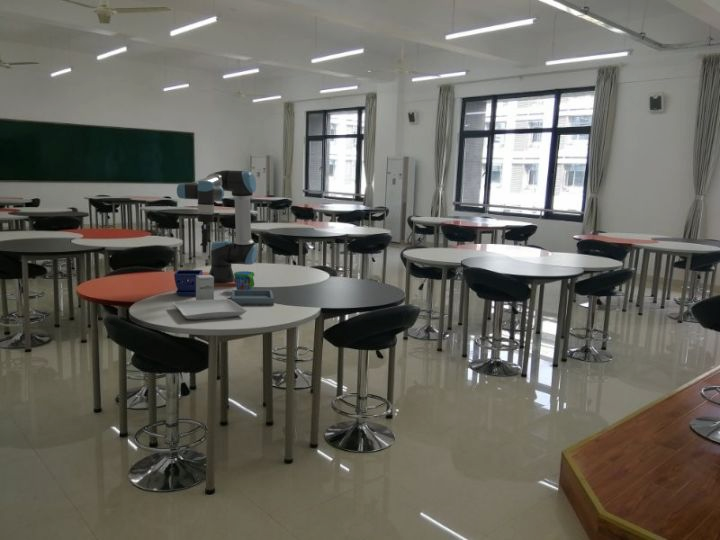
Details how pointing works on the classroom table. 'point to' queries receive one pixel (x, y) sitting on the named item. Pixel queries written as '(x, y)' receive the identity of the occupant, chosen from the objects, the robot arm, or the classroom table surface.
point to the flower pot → (186, 282)
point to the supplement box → (204, 287)
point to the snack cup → (244, 280)
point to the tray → (253, 297)
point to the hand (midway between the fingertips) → (205, 257)
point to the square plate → (209, 309)
